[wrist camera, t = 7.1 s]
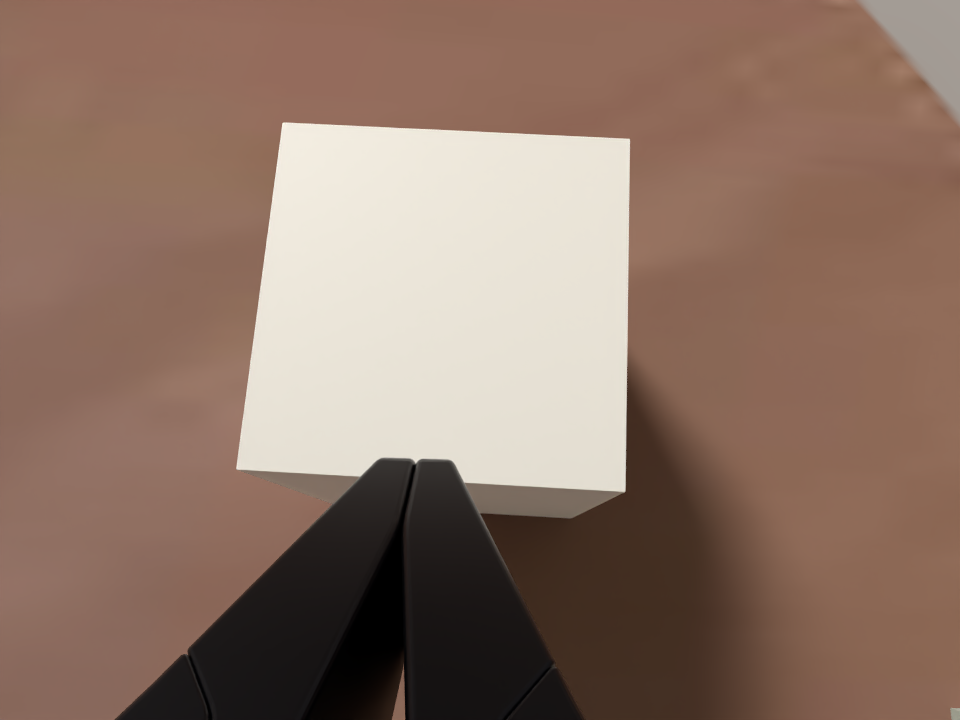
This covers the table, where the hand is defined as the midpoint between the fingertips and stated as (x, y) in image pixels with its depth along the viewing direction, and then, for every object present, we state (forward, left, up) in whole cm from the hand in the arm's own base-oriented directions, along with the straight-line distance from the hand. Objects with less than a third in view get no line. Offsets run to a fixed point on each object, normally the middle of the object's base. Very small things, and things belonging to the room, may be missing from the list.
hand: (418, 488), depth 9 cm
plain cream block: (+3, +1, -11) cm, 12 cm away
